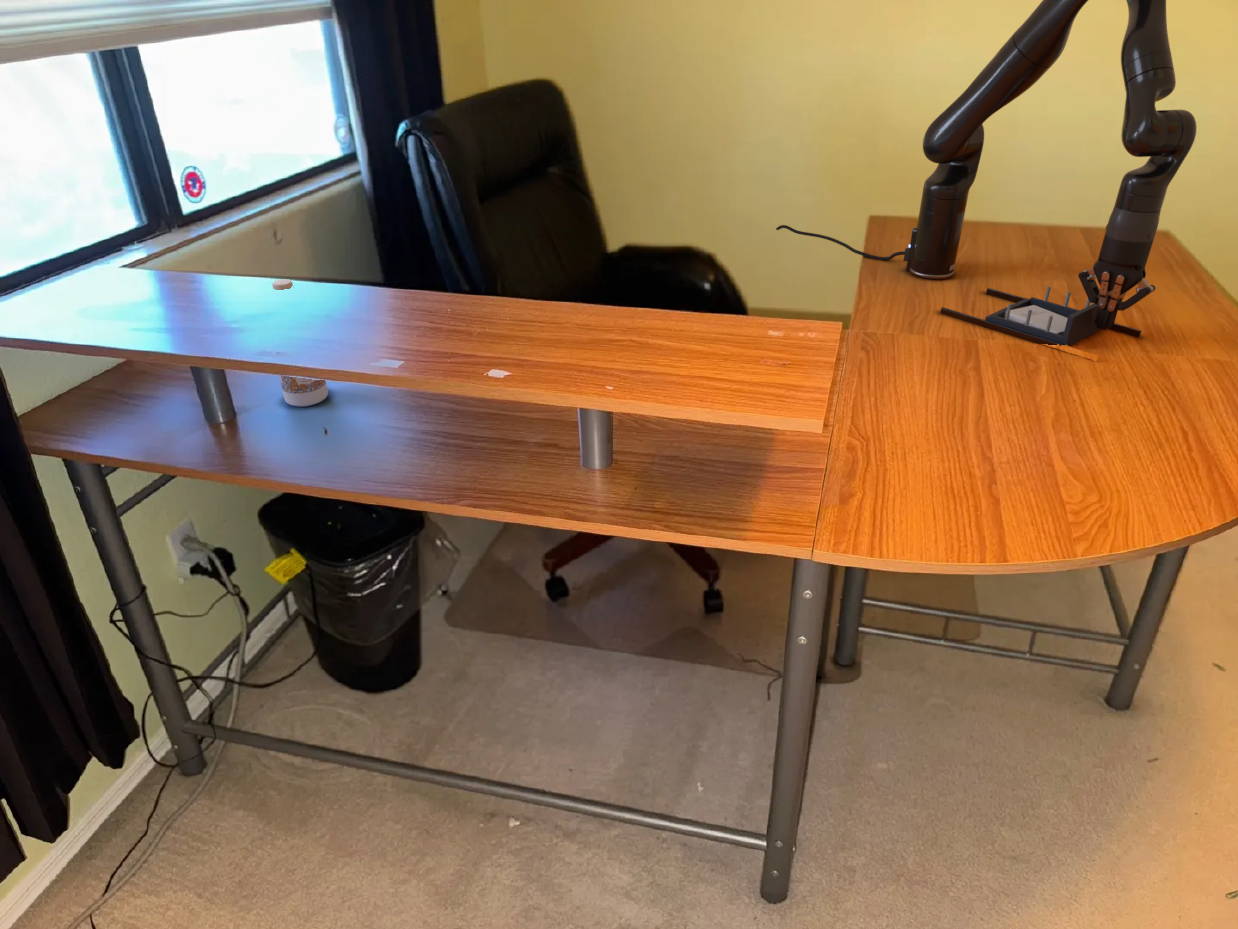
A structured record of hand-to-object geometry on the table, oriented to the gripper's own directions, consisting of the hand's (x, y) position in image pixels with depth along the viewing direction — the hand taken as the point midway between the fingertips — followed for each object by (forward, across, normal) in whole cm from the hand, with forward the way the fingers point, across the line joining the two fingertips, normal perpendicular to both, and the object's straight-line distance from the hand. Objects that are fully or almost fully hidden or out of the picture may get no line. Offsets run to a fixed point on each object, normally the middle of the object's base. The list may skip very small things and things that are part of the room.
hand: (1102, 328), depth 160 cm
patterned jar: (+3, +74, +120) cm, 141 cm away
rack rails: (+3, +12, 0) cm, 12 cm away
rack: (+3, +10, 0) cm, 11 cm away
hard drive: (+3, +10, 0) cm, 11 cm away
